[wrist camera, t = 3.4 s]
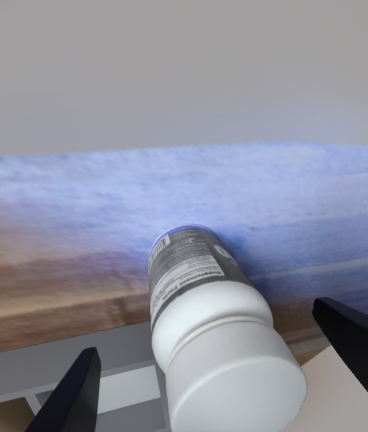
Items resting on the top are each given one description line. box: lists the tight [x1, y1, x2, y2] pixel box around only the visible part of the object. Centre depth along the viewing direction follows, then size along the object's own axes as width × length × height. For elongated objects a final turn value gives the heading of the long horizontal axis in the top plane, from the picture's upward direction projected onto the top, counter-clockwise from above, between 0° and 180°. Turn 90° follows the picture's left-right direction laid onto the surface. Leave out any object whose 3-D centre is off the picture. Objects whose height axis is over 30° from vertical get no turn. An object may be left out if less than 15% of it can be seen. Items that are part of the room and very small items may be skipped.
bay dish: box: [0, 321, 172, 432], centre depth 14 cm, size 22×8×3 cm, turn 94°
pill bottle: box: [148, 224, 308, 432], centre depth 9 cm, size 5×5×8 cm
